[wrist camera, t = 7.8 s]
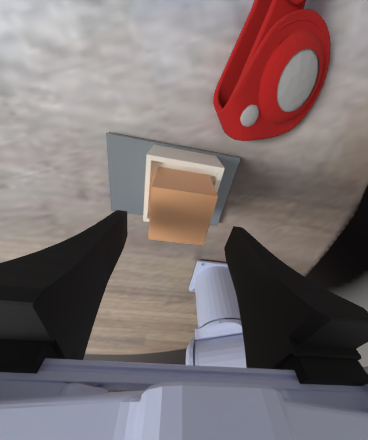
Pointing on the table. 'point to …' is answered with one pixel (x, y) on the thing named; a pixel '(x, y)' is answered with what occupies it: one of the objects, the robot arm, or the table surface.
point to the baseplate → (136, 168)
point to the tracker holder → (273, 70)
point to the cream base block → (178, 168)
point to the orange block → (181, 206)
